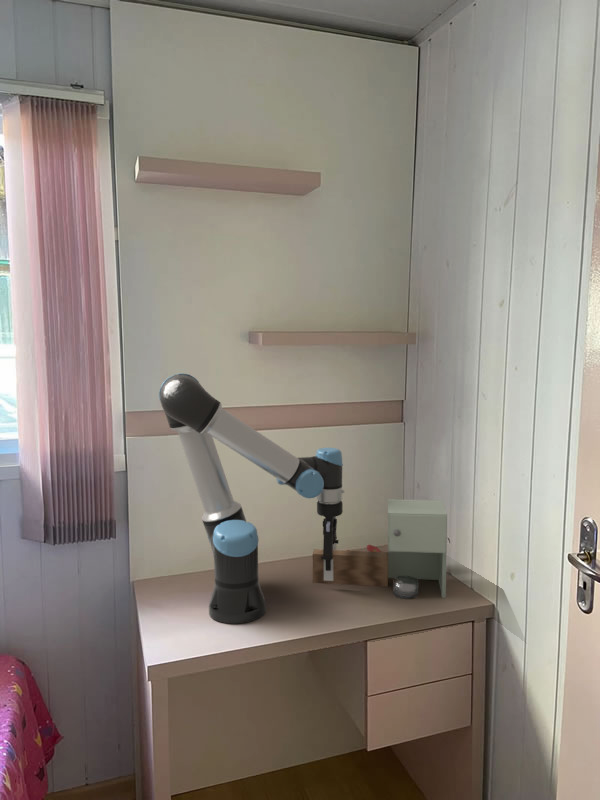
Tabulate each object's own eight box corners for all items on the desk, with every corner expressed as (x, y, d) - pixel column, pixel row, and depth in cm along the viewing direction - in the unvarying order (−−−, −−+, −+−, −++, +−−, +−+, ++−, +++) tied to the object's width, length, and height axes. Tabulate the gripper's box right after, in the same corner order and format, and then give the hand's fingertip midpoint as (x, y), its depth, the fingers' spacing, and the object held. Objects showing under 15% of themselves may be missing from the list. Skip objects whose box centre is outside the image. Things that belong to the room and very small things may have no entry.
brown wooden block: (312, 583, 192) (312, 553, 191) (314, 577, 196) (314, 549, 195) (387, 586, 189) (387, 557, 188) (387, 581, 192) (388, 552, 191)
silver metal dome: (393, 598, 180) (393, 584, 180) (392, 588, 187) (392, 575, 187) (419, 599, 179) (419, 585, 179) (417, 589, 186) (417, 576, 186)
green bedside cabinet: (387, 598, 180) (388, 514, 178) (387, 576, 196) (388, 499, 193) (446, 600, 178) (447, 516, 175) (441, 578, 194) (442, 500, 191)
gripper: (339, 512, 178) (340, 589, 181) (344, 490, 201) (345, 558, 204) (312, 512, 179) (313, 587, 182) (320, 490, 202) (321, 557, 205)
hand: (330, 572), depth 193 cm, fingers open, 11 cm apart
